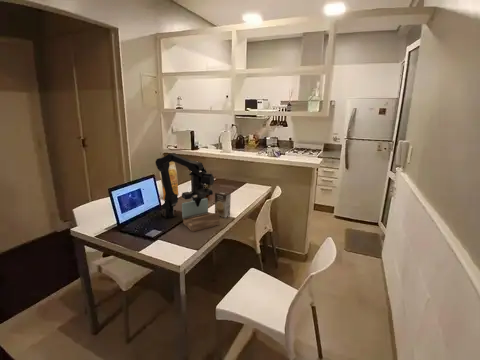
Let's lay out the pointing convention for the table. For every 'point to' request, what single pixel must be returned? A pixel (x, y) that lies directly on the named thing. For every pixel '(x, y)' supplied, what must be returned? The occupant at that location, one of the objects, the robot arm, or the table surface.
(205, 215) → the brown wooden block
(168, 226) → the table surface
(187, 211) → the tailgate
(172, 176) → the pancake mix bag
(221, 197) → the coffee box
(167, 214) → the robot arm
